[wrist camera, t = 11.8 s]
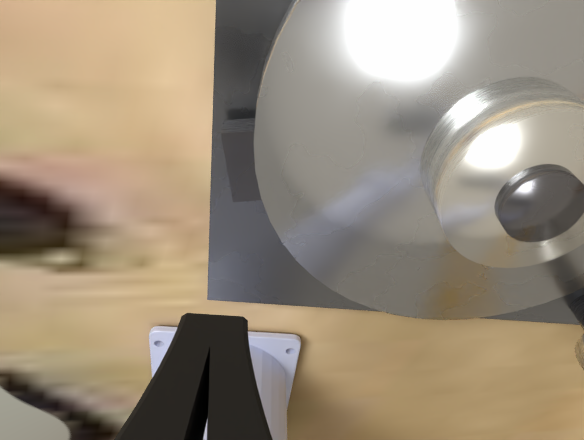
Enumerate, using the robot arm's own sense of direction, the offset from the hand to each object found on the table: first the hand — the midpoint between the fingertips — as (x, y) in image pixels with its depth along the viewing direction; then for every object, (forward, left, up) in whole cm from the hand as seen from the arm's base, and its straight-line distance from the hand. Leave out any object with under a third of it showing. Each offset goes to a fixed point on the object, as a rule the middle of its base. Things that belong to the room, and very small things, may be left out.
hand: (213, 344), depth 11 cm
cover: (+2, -9, -7) cm, 12 cm away
